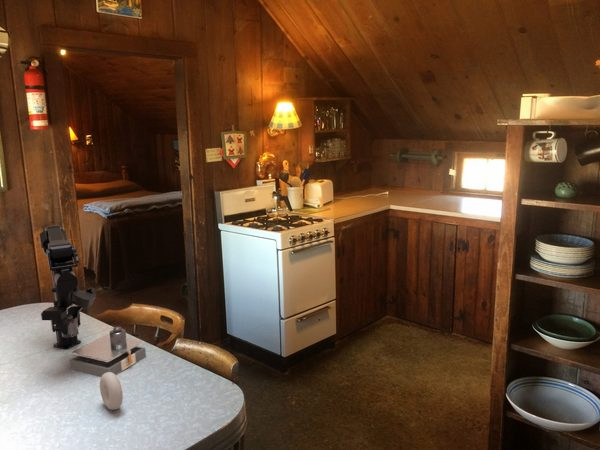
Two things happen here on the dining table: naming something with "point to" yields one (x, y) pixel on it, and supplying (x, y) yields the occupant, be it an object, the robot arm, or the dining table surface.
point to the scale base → (82, 365)
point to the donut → (111, 390)
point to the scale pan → (105, 349)
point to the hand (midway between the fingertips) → (70, 331)
